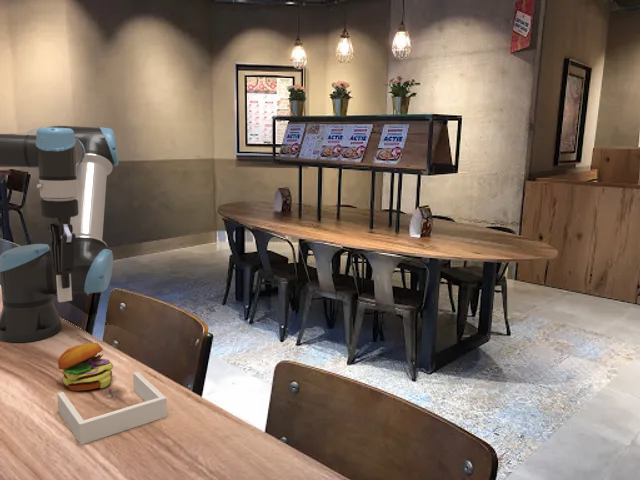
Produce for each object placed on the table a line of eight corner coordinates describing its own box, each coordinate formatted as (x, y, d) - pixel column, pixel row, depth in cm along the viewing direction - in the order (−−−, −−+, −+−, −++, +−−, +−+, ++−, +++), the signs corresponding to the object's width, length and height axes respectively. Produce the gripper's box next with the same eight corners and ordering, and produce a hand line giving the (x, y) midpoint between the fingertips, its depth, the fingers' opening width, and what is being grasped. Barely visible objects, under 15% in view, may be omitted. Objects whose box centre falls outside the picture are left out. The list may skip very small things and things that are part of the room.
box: (58, 411, 104) (57, 393, 103) (138, 388, 114) (137, 371, 114) (80, 445, 94) (79, 424, 93) (166, 416, 104) (166, 398, 103)
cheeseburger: (91, 398, 110) (79, 352, 108) (53, 399, 114) (41, 355, 112) (125, 377, 119) (114, 334, 118) (89, 378, 123) (78, 337, 122)
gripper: (33, 195, 120) (39, 296, 125) (48, 203, 110) (55, 311, 115) (68, 194, 125) (73, 290, 129) (86, 201, 115) (91, 305, 120)
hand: (64, 300), depth 122 cm, fingers closed
